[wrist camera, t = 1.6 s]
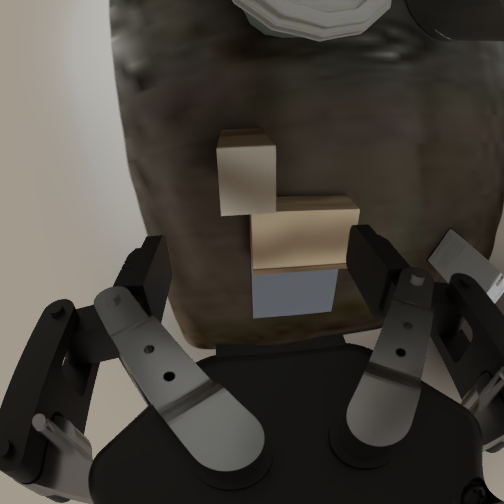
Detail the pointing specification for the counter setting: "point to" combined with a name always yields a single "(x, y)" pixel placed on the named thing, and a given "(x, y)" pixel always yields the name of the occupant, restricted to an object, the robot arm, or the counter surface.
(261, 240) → the beech step
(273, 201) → the walnut block
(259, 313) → the rubber mat
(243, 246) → the counter surface
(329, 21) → the disposable coffee cup
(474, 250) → the skincare box
